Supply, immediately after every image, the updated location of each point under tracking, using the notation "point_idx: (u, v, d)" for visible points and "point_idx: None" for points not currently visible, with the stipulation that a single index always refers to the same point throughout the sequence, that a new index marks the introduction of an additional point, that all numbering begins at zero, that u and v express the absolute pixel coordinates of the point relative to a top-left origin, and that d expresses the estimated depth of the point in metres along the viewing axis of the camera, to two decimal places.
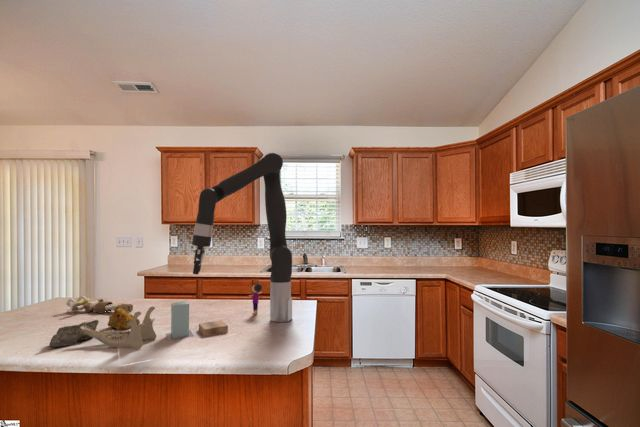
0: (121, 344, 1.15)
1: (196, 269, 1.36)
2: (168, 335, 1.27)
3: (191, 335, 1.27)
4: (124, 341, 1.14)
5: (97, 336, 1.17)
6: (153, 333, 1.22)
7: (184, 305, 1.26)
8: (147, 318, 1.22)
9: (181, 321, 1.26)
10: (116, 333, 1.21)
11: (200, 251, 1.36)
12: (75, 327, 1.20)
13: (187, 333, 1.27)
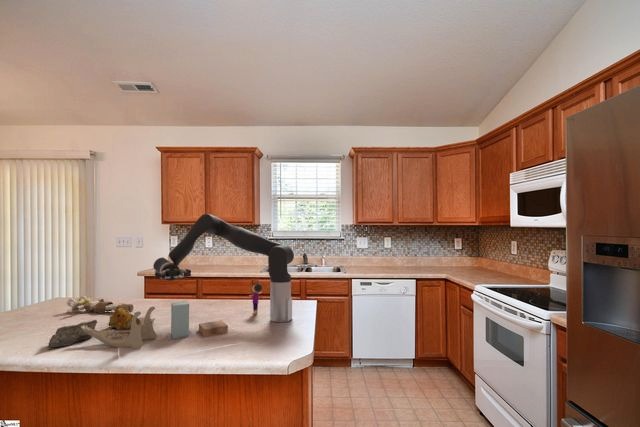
0: (121, 344, 1.15)
1: (160, 275, 1.38)
2: (168, 335, 1.27)
3: (191, 335, 1.27)
4: (124, 341, 1.15)
5: (97, 336, 1.17)
6: (153, 333, 1.22)
7: (184, 305, 1.26)
8: (147, 318, 1.22)
9: (181, 321, 1.26)
10: (116, 333, 1.21)
11: None
12: (74, 327, 1.20)
13: (187, 333, 1.27)
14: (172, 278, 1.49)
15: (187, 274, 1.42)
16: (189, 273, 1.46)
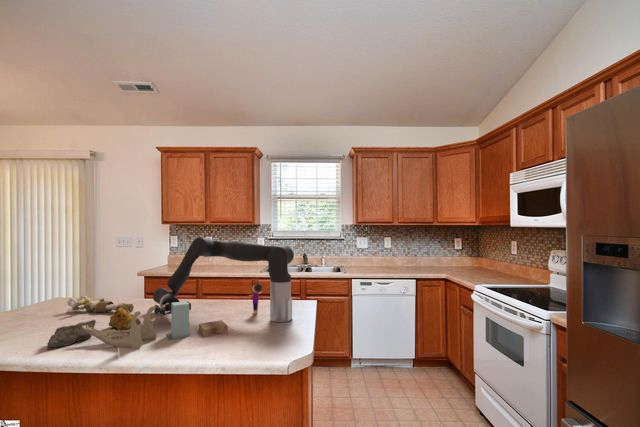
0: (121, 344, 1.15)
1: (160, 311, 1.36)
2: (168, 335, 1.27)
3: (191, 335, 1.27)
4: (124, 341, 1.15)
5: (98, 335, 1.18)
6: (153, 333, 1.22)
7: (184, 305, 1.26)
8: (147, 318, 1.22)
9: (181, 321, 1.26)
10: (117, 332, 1.21)
11: None
12: (73, 327, 1.20)
13: (187, 333, 1.27)
14: None
15: None
16: (189, 307, 1.44)
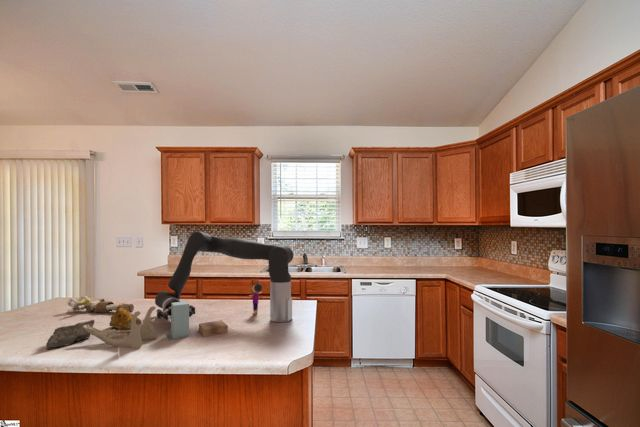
0: (121, 343, 1.15)
1: (163, 316, 1.30)
2: (168, 335, 1.27)
3: (191, 335, 1.27)
4: (124, 340, 1.15)
5: (99, 335, 1.18)
6: (153, 333, 1.22)
7: (184, 305, 1.26)
8: (148, 318, 1.23)
9: (181, 321, 1.26)
10: (117, 332, 1.22)
11: None
12: (72, 327, 1.19)
13: (187, 333, 1.27)
14: None
15: (191, 313, 1.34)
16: (193, 311, 1.38)
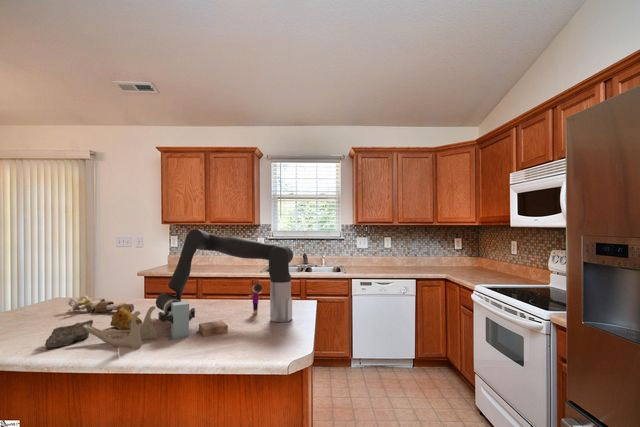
0: (121, 343, 1.15)
1: (168, 319, 1.25)
2: (168, 335, 1.27)
3: (191, 335, 1.27)
4: (124, 340, 1.15)
5: (99, 335, 1.18)
6: (153, 333, 1.23)
7: (184, 305, 1.26)
8: (148, 318, 1.23)
9: (181, 321, 1.26)
10: (118, 332, 1.22)
11: (158, 314, 1.30)
12: (71, 327, 1.19)
13: (187, 333, 1.27)
14: None
15: (191, 317, 1.28)
16: (192, 314, 1.32)
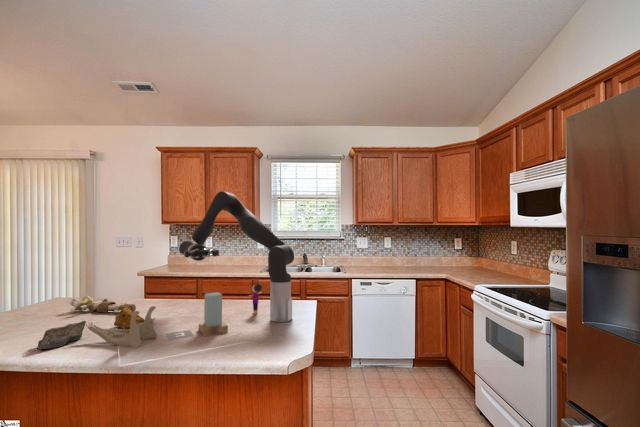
0: (121, 342, 1.16)
1: (191, 254, 1.42)
2: (168, 335, 1.27)
3: (191, 335, 1.27)
4: (124, 339, 1.16)
5: (100, 333, 1.20)
6: (154, 332, 1.23)
7: (217, 296, 1.31)
8: (148, 317, 1.23)
9: (214, 310, 1.30)
10: (119, 331, 1.23)
11: (184, 252, 1.47)
12: (64, 328, 1.18)
13: (220, 323, 1.31)
14: (200, 258, 1.53)
15: (216, 253, 1.46)
16: (217, 253, 1.50)
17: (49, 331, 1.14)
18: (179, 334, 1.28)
